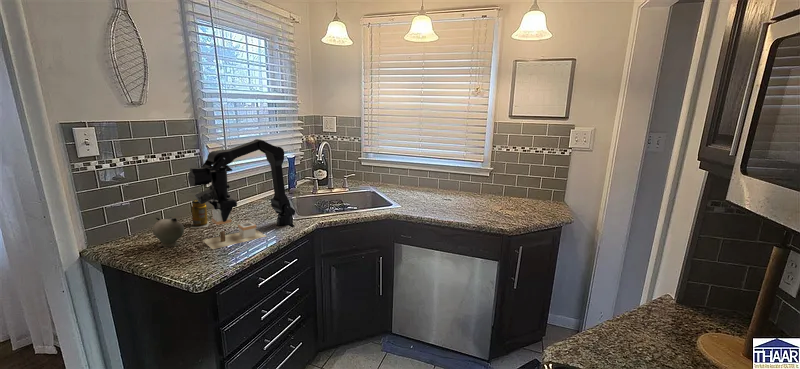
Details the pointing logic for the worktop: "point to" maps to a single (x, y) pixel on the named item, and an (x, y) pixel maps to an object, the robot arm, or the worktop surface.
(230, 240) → the pin board
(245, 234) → the seated sleeve
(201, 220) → the condiment
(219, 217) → the sleeve
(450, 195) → the worktop surface
